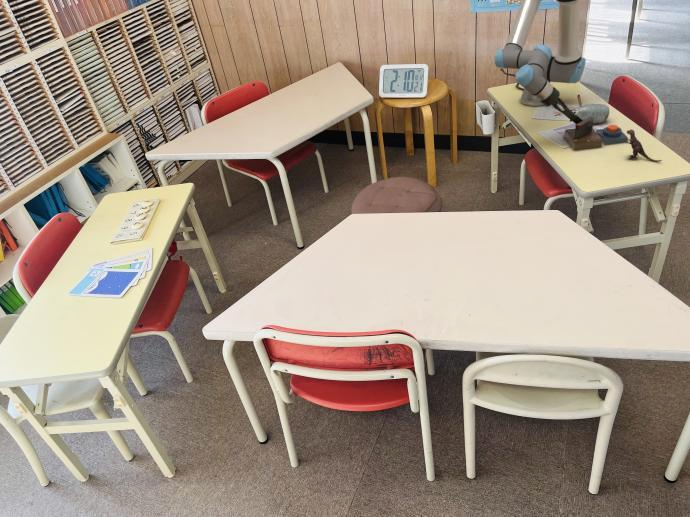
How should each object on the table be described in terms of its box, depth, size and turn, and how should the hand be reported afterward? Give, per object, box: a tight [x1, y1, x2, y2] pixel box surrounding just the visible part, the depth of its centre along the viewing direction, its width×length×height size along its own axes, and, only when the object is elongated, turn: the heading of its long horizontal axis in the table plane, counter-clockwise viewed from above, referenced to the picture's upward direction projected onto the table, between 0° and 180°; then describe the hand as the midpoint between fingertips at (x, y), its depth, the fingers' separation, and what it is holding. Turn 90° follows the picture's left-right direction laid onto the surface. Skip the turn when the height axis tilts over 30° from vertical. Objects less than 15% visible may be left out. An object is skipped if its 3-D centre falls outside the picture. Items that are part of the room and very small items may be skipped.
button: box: [607, 124, 619, 132], centre depth 225 cm, size 4×4×2 cm
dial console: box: [563, 127, 603, 152], centre depth 228 cm, size 14×14×4 cm
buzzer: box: [595, 126, 629, 146], centre depth 227 cm, size 11×9×4 cm
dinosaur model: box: [626, 129, 663, 163], centre depth 207 cm, size 4×12×15 cm
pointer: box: [574, 117, 594, 139], centre depth 225 cm, size 10×2×6 cm, turn 127°
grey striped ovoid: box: [576, 103, 610, 124], centre depth 240 cm, size 14×10×10 cm
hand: (583, 125), depth 229 cm, fingers closed
